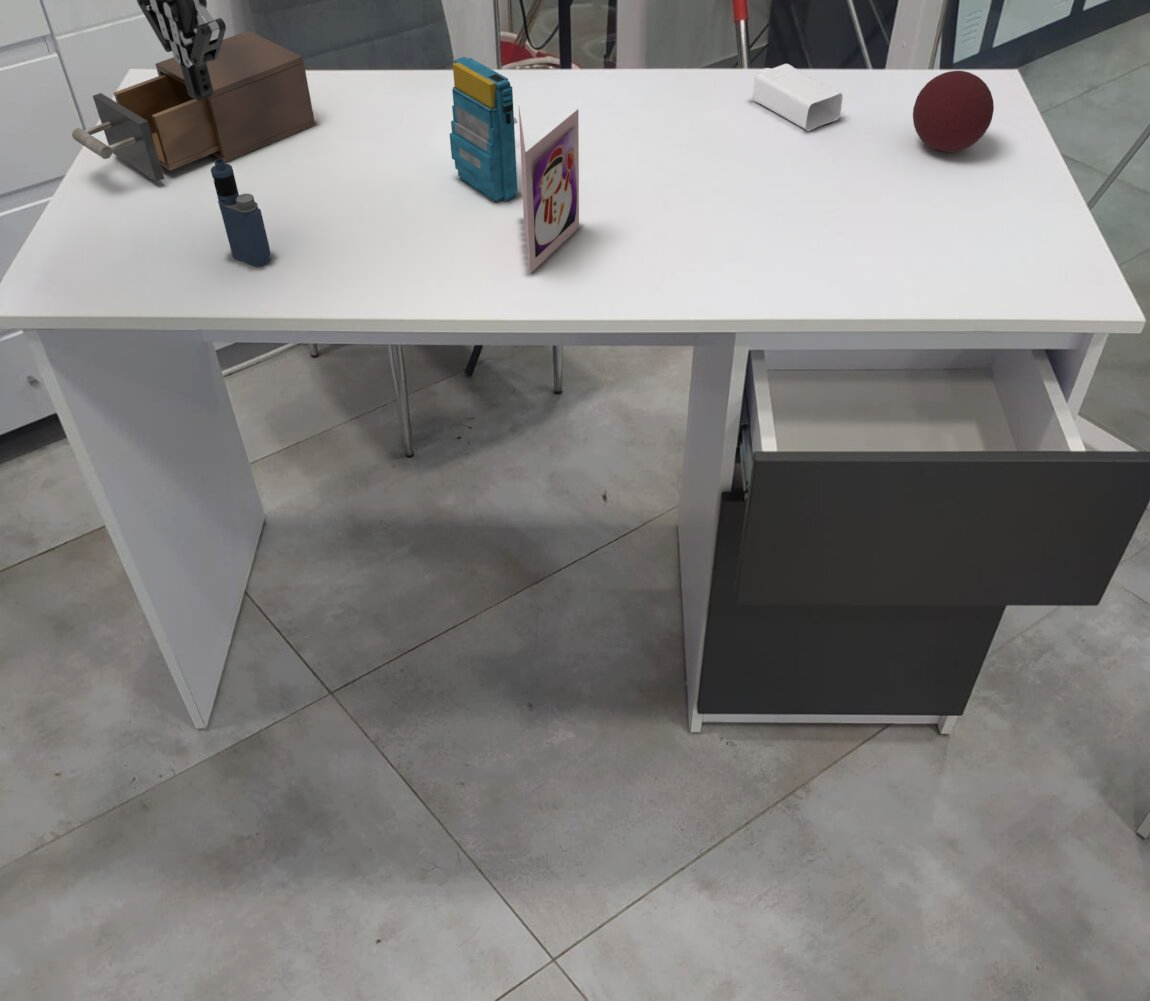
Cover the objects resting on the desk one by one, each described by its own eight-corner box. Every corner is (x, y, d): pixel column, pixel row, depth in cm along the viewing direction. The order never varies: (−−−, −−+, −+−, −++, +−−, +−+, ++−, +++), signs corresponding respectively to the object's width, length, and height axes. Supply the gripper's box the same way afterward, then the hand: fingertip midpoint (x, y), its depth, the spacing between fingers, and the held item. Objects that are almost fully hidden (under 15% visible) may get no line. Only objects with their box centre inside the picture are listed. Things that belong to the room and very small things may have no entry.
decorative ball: (994, 143, 149) (1014, 70, 142) (964, 173, 143) (984, 99, 136) (924, 123, 153) (941, 51, 146) (893, 151, 148) (908, 78, 141)
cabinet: (225, 163, 147) (208, 92, 140) (174, 132, 153) (154, 63, 146) (315, 125, 154) (302, 56, 147) (262, 97, 160) (248, 30, 154)
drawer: (121, 196, 139) (102, 138, 134) (76, 166, 145) (55, 108, 139) (246, 144, 148) (232, 88, 143) (198, 117, 154) (184, 62, 149)
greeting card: (537, 275, 128) (532, 154, 117) (482, 258, 130) (473, 138, 120) (585, 228, 135) (585, 110, 124) (532, 213, 137) (528, 96, 127)
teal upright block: (521, 196, 140) (516, 80, 130) (495, 207, 138) (487, 91, 128) (476, 167, 145) (467, 53, 135) (450, 177, 144) (439, 63, 133)
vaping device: (242, 246, 132) (219, 153, 124) (276, 258, 131) (254, 164, 122) (227, 256, 131) (202, 163, 122) (261, 269, 129) (238, 174, 120)
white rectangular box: (778, 86, 162) (781, 57, 159) (839, 120, 154) (844, 90, 151) (743, 98, 159) (746, 69, 156) (804, 133, 152) (808, 103, 149)
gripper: (85, -83, 108) (137, 90, 120) (161, -51, 101) (207, 128, 114) (153, -102, 112) (196, 67, 124) (230, -73, 105) (267, 103, 117)
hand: (201, 96), depth 119 cm, fingers closed
